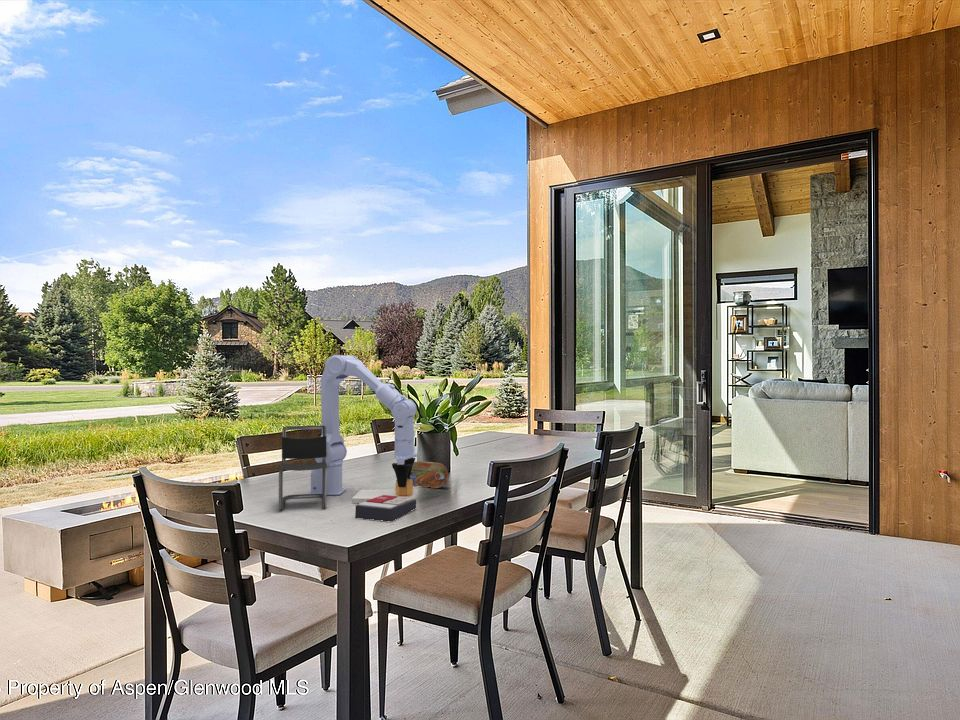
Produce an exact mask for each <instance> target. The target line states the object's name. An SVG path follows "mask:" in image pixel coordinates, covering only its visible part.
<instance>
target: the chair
mask: <svg viewBox="0 0 960 720" xmlns="http://www.w3.org/2000/svg"><path fill="white" fill-rule="evenodd" d="M322 429H323V437H321V436H318V437H313V438H290V437H287V431H292V430H293V431H294V430H295V431H297V430H299V431H301V430H322ZM281 430H282V431H281V465H280V468H279V470H278V510H279V511H282V510H283V509H284V507H285V503H286V501H287V500H290V498H292V499H303V498H302V497H311V498H321V497H322V501H321V505H322V506H321V507H322V509H325V508H327V495H326V470H327V465H326V436H327V435H326V426H322V425H298V426H297V425H294V426H293V425H291V426H283V427H282V429H281ZM321 457H323V462H321V463H317V462H316V463H308V464H291V463H287V462H286V460H305V459H306V460H308V459H315V458H321ZM321 468H322V494H310V493H302V494H301V493H300V494H290V495H284V494H283V491H284V490H283V488H284V487H283V485H284V484H283V483H284V481H283V480H284V478H283V476H284V471H291V472H292V471H294V472H296V471H297V472H298V471H304V472H305V471H311V470H315V469H321ZM283 495H284V496H283Z"/></svg>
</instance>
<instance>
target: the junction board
mask: <svg viewBox="0 0 960 720" xmlns="http://www.w3.org/2000/svg"><path fill="white" fill-rule="evenodd" d="M418 492H419V490H418V489H413V494H411V495H396V489H359V491H357V492H356V494H355V495H353V497H352V498H351V504H352V503H363V502H366V501H367V500H370V499H373V498H376V497H379V496H382V495H389V496H398V497H409V498H414V500H416V499H417V497H418V494H419V493H418ZM415 498H416V499H415Z"/></svg>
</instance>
